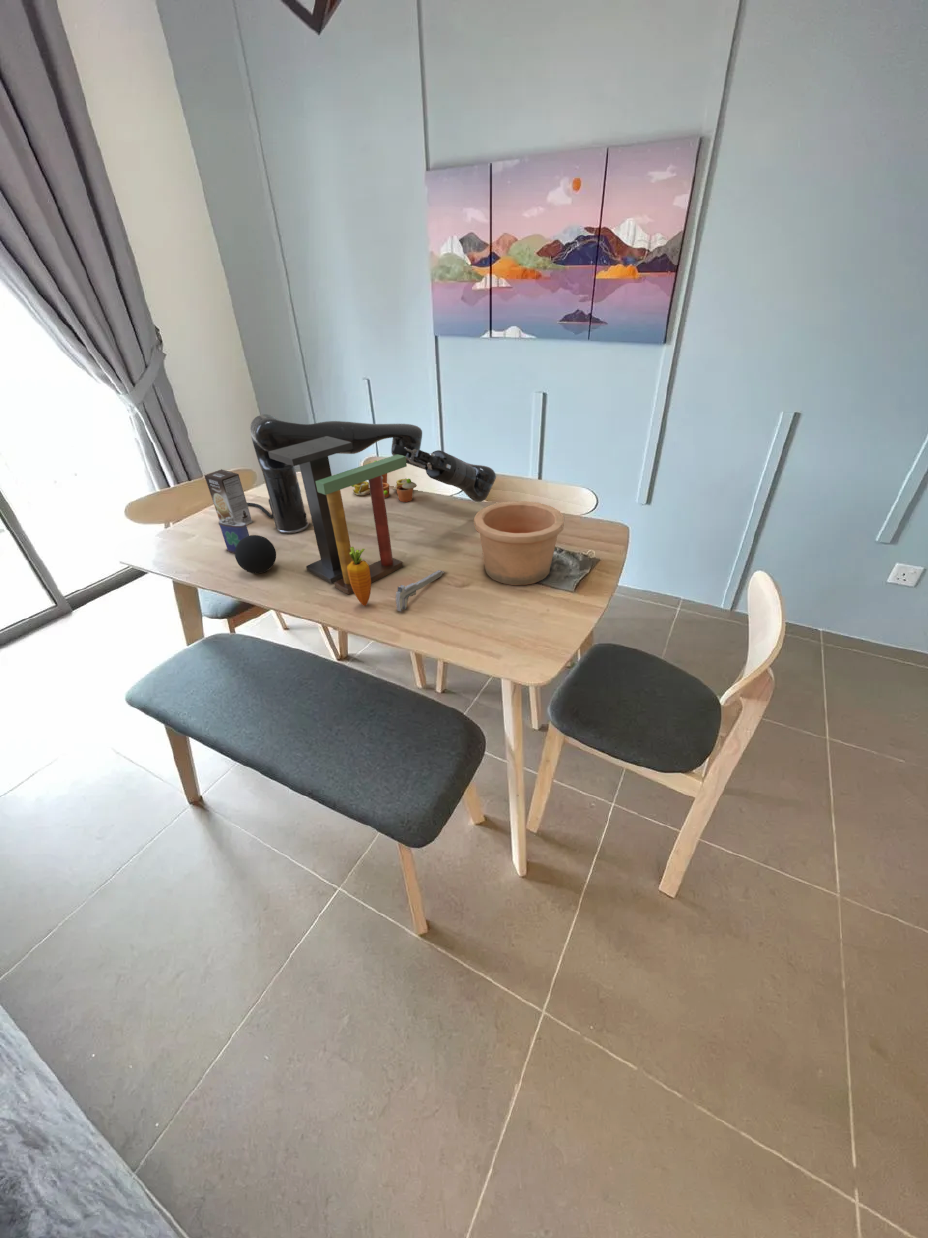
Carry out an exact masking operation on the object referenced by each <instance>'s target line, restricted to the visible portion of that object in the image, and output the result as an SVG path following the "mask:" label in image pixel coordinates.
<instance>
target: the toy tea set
mask: <svg viewBox="0 0 928 1238" xmlns="http://www.w3.org/2000/svg"><path fill="white" fill-rule="evenodd" d="M376 461H377V460H374V461H373V462H376ZM382 483H383V490H384V498H385V499H386V498H389V497H390V483H388V473H387V474H384V475H382ZM351 487H352V488H354V489H352V493H353V495H355V496H366V495H369V494H370V487H369V481H364V482H361V483H358V484H355V485H352V486H351ZM416 487H418V485H417V483H415V482H414V481H412V480H411V478H407V477H406V478H402V479H401V478H400V479H398V480H396V484H395V486H394V487H393V488H392V490H393V491H395V492H396V493H397V497H398V500H399V501H400V502H402V503H408V502H412V500H413V496H414V493H413V492H414V488H416Z"/></svg>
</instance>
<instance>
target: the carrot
mask: <svg viewBox="0 0 928 1238" xmlns="http://www.w3.org/2000/svg"><path fill="white" fill-rule="evenodd" d="M350 549H351V552H350V556H351V558H352V559H353V561H352V562H351V563H350V564H349V565H348V566H347V571H348V576H349V580H350V584H351V586H352V589H353V591H354V592H353V593H354V596H355V597H356V599H357V600H358V602H359V603H360V604H361V605H362V606H364V607H366V606H367V605H368V602H369V600H370V596H371V593H372V591H371V590H372V583H371V577H370V569H369V563H367V561H366V560H363V558H362V557H361V555H362V554H363V552H365V550H366V549H365V548H362V549H360V550H359V549H355V547H354V546H351V548H350Z"/></svg>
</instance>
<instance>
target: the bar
mask: <svg viewBox="0 0 928 1238" xmlns="http://www.w3.org/2000/svg"><path fill="white" fill-rule="evenodd" d="M375 461H376V462H374V461H372V462H370V463H367V464H364V465H361V466H357V467H354V468H351V469H349V470H345V471H342V472H338V473H336V474H333V475H332V476H330V477H326V478H323V479H320V480H317V481H315V482H316V487H317V491H318V492H319V493H322V494H324V495H327V494H330V493H332V492H335V491H338V490H340V491H342V490H344V489H346V488H349V487H352V485H355V484H358V483H361V482H364V481H366V482H368V481H369V480H370V479H372V478H375V477H378V476H381V475H384V474H387V475H388V474H389V473H391V472H395V471H398V470H401V469H403V468H407V467H408V466H407V465H408V464H407V463H406V456H402V455H398V454H397V455H394V456H393V455H391V456H388V457H385V458H382V459H378V460H375Z"/></svg>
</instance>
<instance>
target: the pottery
mask: <svg viewBox="0 0 928 1238" xmlns="http://www.w3.org/2000/svg"><path fill="white" fill-rule="evenodd" d="M473 525H474V528H475V531H476V532H478V534H479V538H480V544H481V550H482V557H483V563H484V570H485V572H486V575H487V576H488V577H490V579H492V580H493V581H496V582H498V583H500V584H504V585H510V586H526V585H527V586H528V585H531V584H536V583H538V582H540V581H542V580H544V579H546V578H547V576H549V575H550V571H551V566H552V561H553V558H554V553H555V548H556V544H557V540H558V535H559V534H560V533H561V532H562V531H563V530H564V528H565V527H564V526H565V516H564V515H563V514H562V512H561V510H559V509H557V508H555V507H553V506H551V505H548V504H544V503H541V502H536V501H535V502H534V501H526V500H514V501H512V500H511V501H510V500H509V501H504V502H497V503H494V504H491V505H487V506H484V507H483V508H481V509H480V510H478V511H477V512H476V514H475V516H474V518H473Z"/></svg>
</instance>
